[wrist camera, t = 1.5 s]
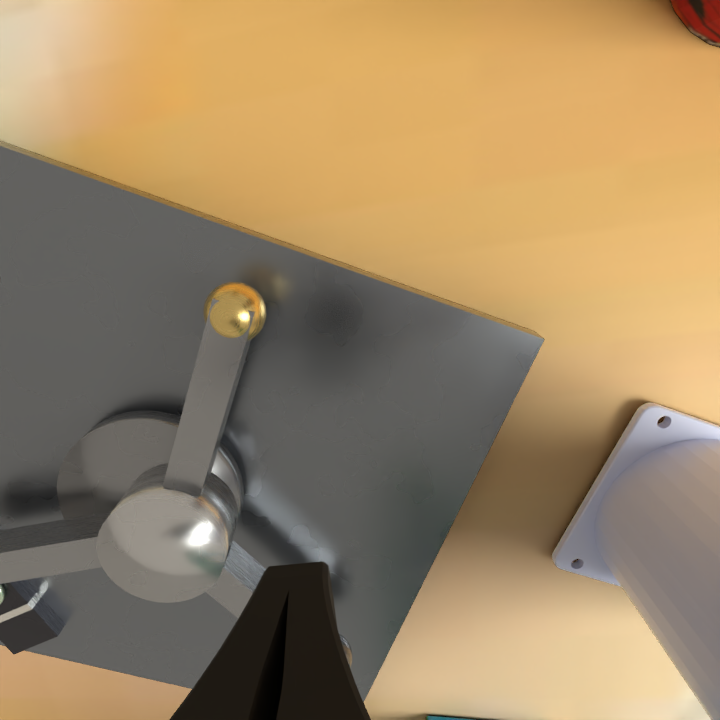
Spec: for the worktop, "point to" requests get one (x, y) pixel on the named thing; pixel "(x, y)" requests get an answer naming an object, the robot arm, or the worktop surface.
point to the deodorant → (700, 18)
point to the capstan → (159, 486)
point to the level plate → (234, 409)
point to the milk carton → (444, 718)
